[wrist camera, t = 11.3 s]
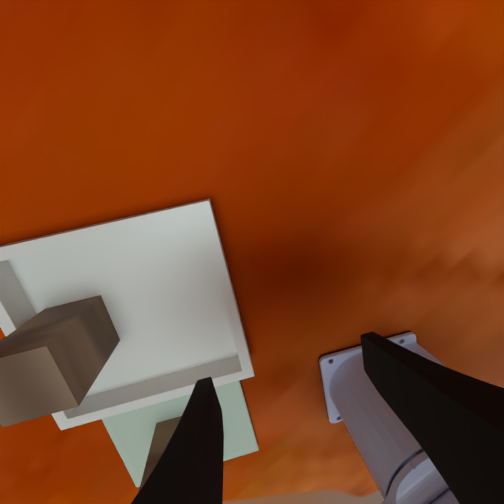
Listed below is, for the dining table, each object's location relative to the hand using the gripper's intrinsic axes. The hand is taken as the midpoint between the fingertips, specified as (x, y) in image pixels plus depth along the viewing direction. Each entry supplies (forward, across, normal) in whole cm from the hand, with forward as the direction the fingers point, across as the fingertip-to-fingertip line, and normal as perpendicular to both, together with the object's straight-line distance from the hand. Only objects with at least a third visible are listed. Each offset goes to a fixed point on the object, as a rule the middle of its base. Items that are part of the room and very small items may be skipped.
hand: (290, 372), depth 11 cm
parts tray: (+9, +10, -1) cm, 13 cm away
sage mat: (+9, +10, +12) cm, 18 cm away
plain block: (+9, +14, -1) cm, 16 cm away
